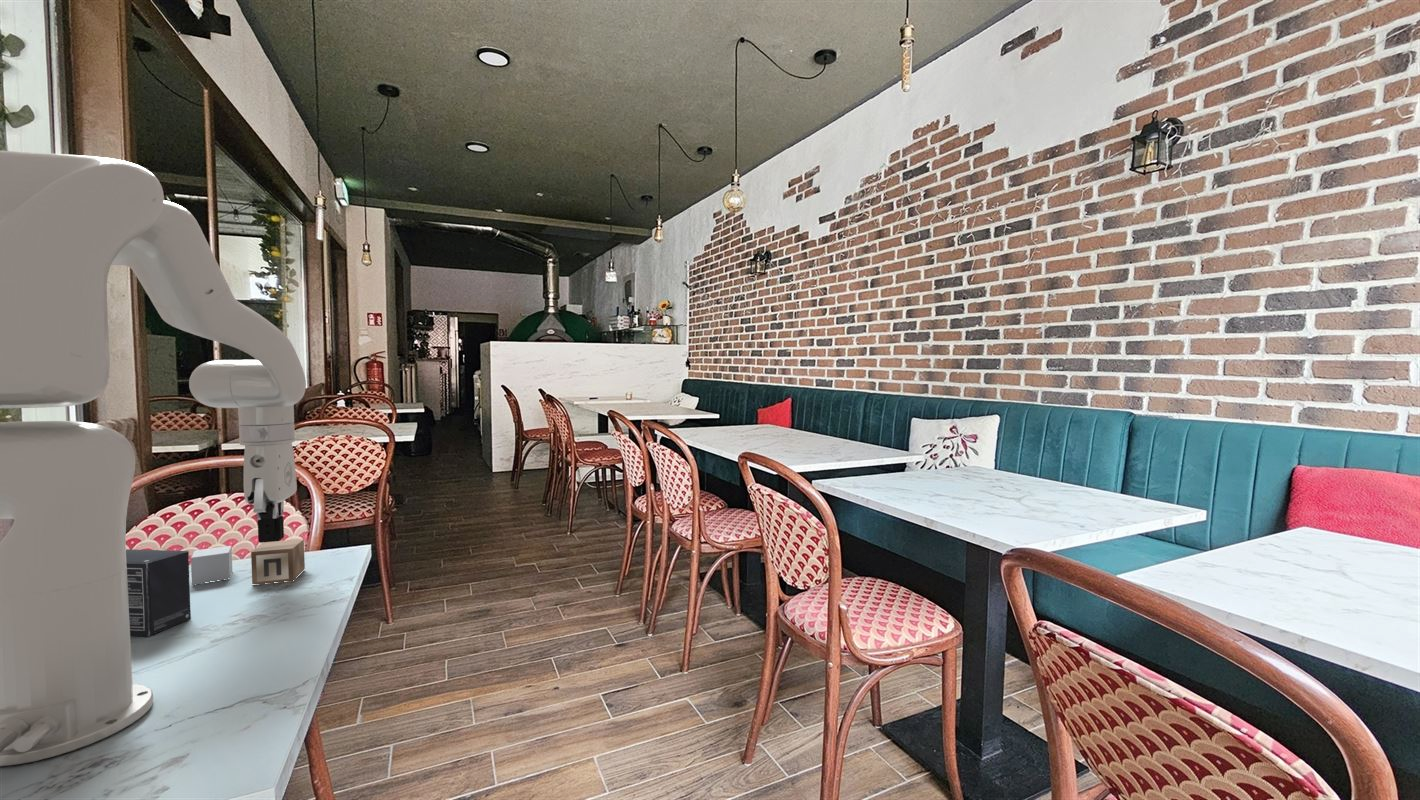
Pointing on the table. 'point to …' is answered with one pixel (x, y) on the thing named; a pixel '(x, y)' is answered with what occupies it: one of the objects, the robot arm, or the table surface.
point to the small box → (157, 590)
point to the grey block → (211, 564)
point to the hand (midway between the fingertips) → (271, 540)
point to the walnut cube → (277, 561)
